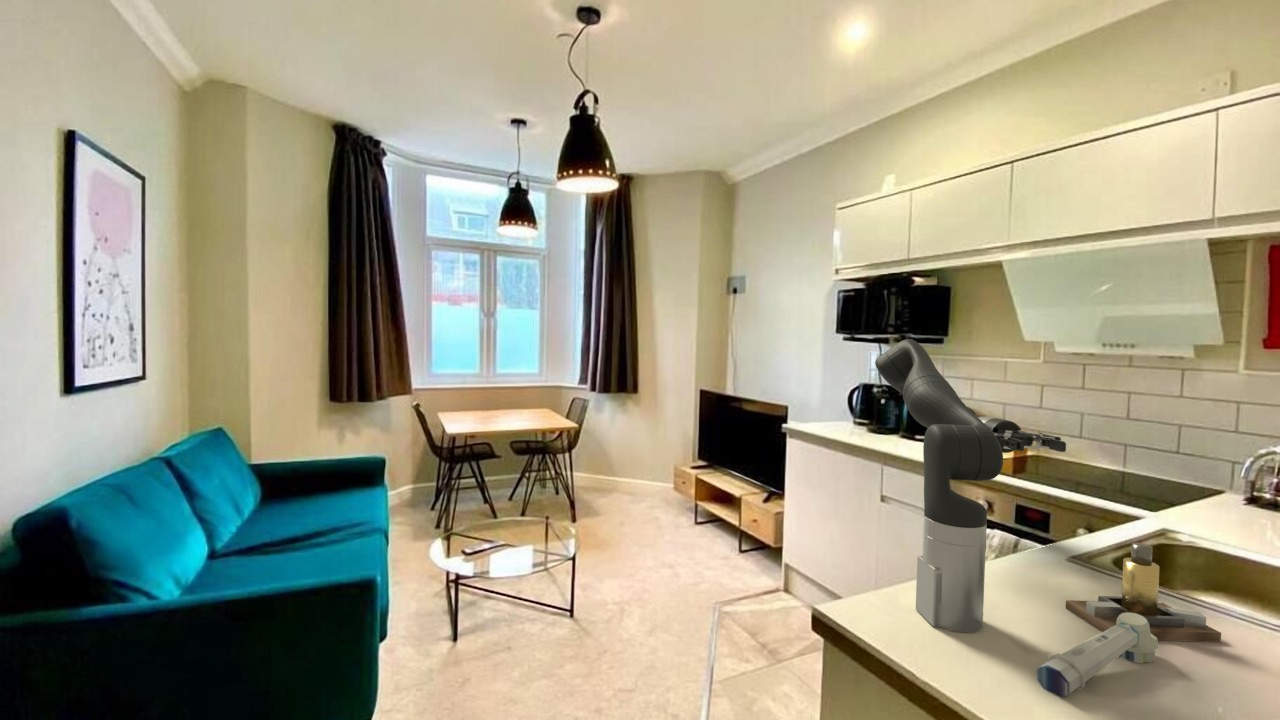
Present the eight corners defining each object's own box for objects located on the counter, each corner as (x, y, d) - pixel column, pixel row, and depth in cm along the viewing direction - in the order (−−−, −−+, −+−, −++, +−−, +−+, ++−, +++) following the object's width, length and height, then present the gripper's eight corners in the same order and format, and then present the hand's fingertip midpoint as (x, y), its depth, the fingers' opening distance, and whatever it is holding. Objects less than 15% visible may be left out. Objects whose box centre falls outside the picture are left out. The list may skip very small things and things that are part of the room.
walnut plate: (1112, 638, 88) (1113, 629, 88) (1065, 608, 98) (1065, 600, 98) (1220, 642, 87) (1221, 632, 87) (1162, 611, 97) (1162, 602, 97)
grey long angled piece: (1029, 656, 76) (1122, 598, 87) (1031, 701, 77) (1123, 637, 87) (1073, 677, 71) (1165, 613, 82) (1074, 725, 72) (1165, 654, 83)
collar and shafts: (1108, 625, 89) (1109, 614, 89) (1072, 603, 97) (1073, 593, 97) (1210, 628, 89) (1211, 617, 89) (1166, 606, 96) (1167, 596, 96)
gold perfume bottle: (1137, 621, 90) (1140, 550, 90) (1113, 608, 95) (1117, 540, 95) (1164, 622, 90) (1168, 550, 90) (1139, 609, 95) (1143, 540, 95)
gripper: (964, 417, 130) (1009, 428, 114) (1025, 418, 130) (1078, 429, 114) (963, 448, 130) (1008, 463, 114) (1024, 450, 130) (1077, 465, 114)
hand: (1043, 446), depth 114 cm, fingers open, 8 cm apart
